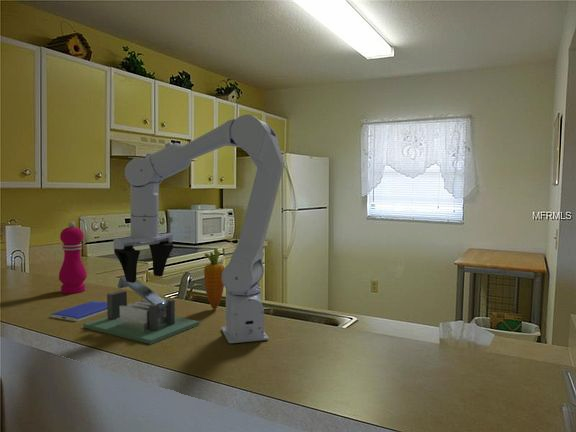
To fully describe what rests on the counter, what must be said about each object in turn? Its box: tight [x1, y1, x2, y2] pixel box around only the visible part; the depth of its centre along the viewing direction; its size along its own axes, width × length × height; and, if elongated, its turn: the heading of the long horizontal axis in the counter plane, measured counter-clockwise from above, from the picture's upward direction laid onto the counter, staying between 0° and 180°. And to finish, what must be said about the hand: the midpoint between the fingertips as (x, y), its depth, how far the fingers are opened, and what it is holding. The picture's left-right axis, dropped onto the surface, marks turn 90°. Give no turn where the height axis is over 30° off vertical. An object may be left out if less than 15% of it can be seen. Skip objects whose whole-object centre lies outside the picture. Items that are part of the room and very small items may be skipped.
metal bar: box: [117, 275, 170, 310], centre depth 96 cm, size 13×3×3 cm, turn 61°
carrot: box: [203, 248, 225, 310], centre depth 110 cm, size 5×5×15 cm
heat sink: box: [117, 298, 167, 332], centre depth 96 cm, size 8×8×4 cm
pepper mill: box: [58, 221, 88, 295], centre depth 127 cm, size 7×7×20 cm
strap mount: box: [106, 289, 176, 331], centre depth 97 cm, size 15×6×6 cm, turn 61°
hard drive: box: [50, 300, 107, 322], centre depth 107 cm, size 2×8×12 cm
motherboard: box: [82, 316, 200, 345], centre depth 96 cm, size 20×14×1 cm
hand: (145, 278), depth 96 cm, fingers open, 7 cm apart
